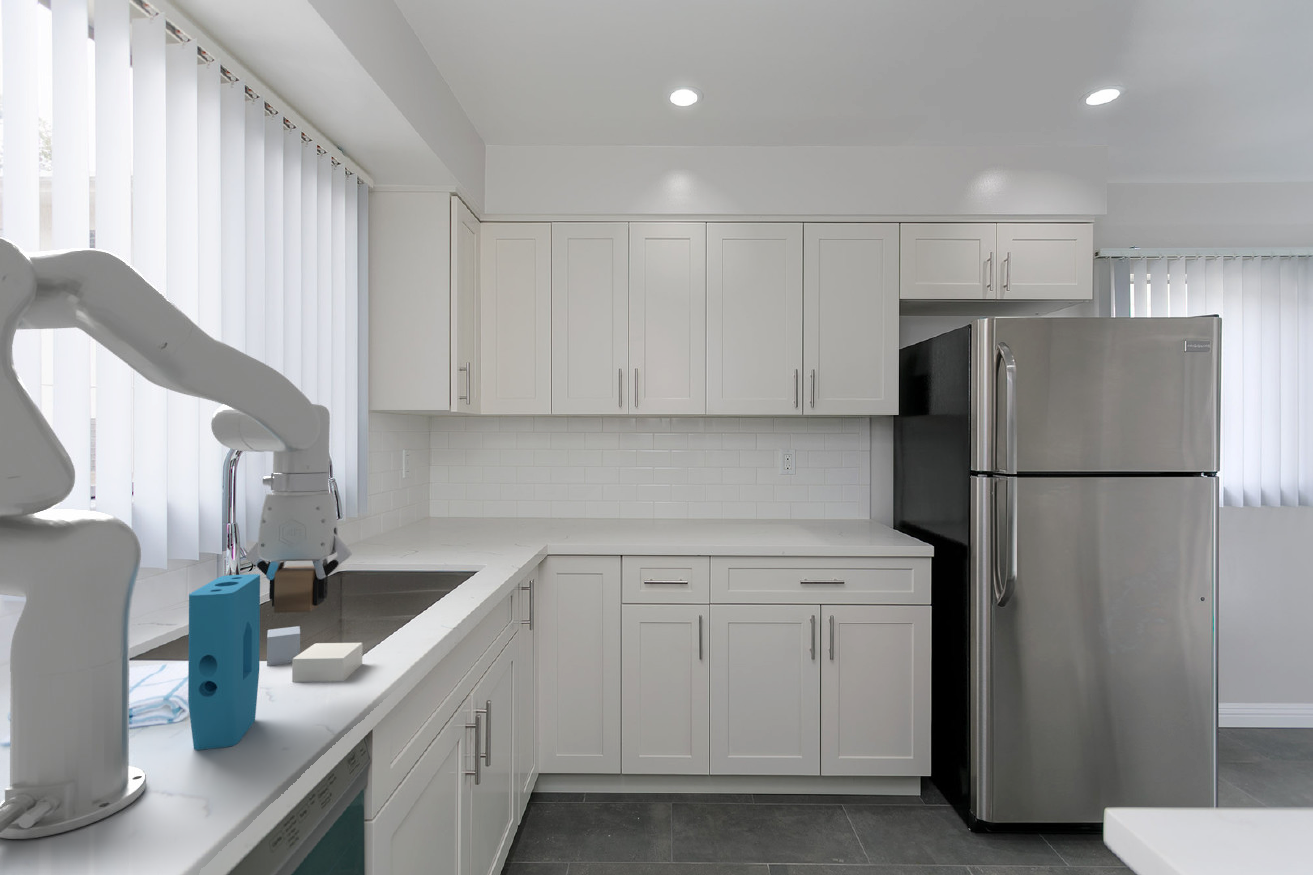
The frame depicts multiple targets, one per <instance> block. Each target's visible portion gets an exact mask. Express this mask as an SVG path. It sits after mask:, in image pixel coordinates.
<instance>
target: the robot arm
mask: <svg viewBox="0 0 1313 875" xmlns="http://www.w3.org/2000/svg"><path fill="white" fill-rule="evenodd" d="M71 328H77V329H79V330H81V331H83V332H84V333H86V335H88V336H89V337H91V338H92V339H94V340H95V341H96V342H97V343H98V344H100V345H101V346H103V347H104V348H106V349H107V350H108V351H109V352H111V353H112V354H114V356H116V357H117V358H119V359H120V360H121V361H122V362H124V363H126V364H127V365H128V366H129V367H130V368H132V369H133V370H134V371H135V372H137V374H139V375H140V376H142V377H143V378H144V379H146V380H147V381H149V382H150V383H152V384H154V385H156V386H159V387H162V388H164V389H167V390H170V391H173V392H176V393H180V394H183V395H187V396H191V397H193V398H195V397H196V398H199V399H200V398H201V399H203V400H207V401H212V402H215V403H218V404H221V406H220V407H219V408H217V409H216V411H215V412H214V414H213V416H212V418H211V423H210V426H211V432H212V434H213V436H214V437H215V439H216V440H217V441H218V443H219V444H221V445H223V446H224V447H226V448H228V449H231V450H233V451H239V452H253V453H254V452H256V453H257V452H260V453H264V452H270V453H271V452H273V453H272V454H273V455H272V456H273V458H272V459H273V460H272V463H273V464H272V472H271V475H269V476H264V477H263V478H262V485H263V486H266V487H267V486H268V487H270V490H271V491H272V493H266V494H265V496H264V501H263V505H262V508H261V509H262V510H261V515H260V521H259V528H258V529H259V530H258V538H257V542H256V543H255V544H254V545H253V547H251V549H250V550H249V551H248V552H247V553H246V555H245V559H246V560H247V561H249V562H250V563H251V564H252V565H254V566H256V567H257V569H258V570H260V571H261V572H262V574H264V575H265V578H266V579H267V580H269V591H268V592H269V593H268V594H269V596H268V597H269V600H270V601H271V606H272V607H273V608H274V587H275V572H276V571H278V570H281V569H283V568H285V567H286V566H285V565H286V562H305V561H308V562H311V561H312V564H313V565H312V566H314V568H315V572H316V579H314V580H313V605H314V606H318V605H319V604H321V603H322V604H323V603H324V601H325V599H327V596H328V585H329V584H328V583H329V582H328V578H329V576H330V574H332V572H334V571H335V570H336V569H337V568H338V567H339V566H340V565H341V564H343V563H344V562H345V561H347V560H348V559H349V558H351V557H352V554H353V553H352V551H351V550H350V549H349V548H348V547H347V546H346V544H345V543H344V542H343V541H342V540H341V538H340V537H339V534H338V533H339V532H338V518H337V517H338V516H337V510H336V504H335V502H336V501H335V498H334V494H333V492H329V485H330V484H329V481H330V480H329V478H330V476H329V470H330V469H329V468H330V429H331V427H330V426H331V425H330V423H331V422H330V420H331V417H330V415H331V414H330V411H329V409H328V408H327V407H326V406H324V405H321V404H316V403H313V402H311V400H310V399H309V398H308V397H307V396H306V395H305V394H304V393H303V392H302V391H301V390H300V389H299V388H298V387H297V386H296V385H295V384H293V382H291V380H289V379H288V378H287V377H286V376H284V375H283V374H282V373H281V372H279V371H277V370H276V369H275V368H273V367H272V366H270V365H268V364H266V363H264V362H261V361H260V360H259V359H256V358H254V357H253V356H251V355H248V354H246V353H244V352H242V351H240V350H238V349H236V348H235V347H232V346H231V345H228V344H226V343H225V342H221V341H220V340H218V339H215V338H213V337H212V336H210V335H209V334H208V333H206V331H204V330H202V329H201V328H200V327H199V325H197V324H196V323H195V322H194V321H192V320H191V319H190V318H189V317H188V316H187V315H186V314H185V313H184V312H183V311H182V310H180V308H178V307H177V306H176V305H175V304H174V303H173V302H172V301H170V300H169V299H168V298H167V297H166V295H164V294H163V293H162V292H160V290H158V288H156V287H155V286H154V284H152V283H151V282H149V281H148V279H146V278H145V277H144V276H143V275H142V274H141V272H139V271H138V270H137V269H135V267H133V266H132V265H131V264H130V263H129V262H128V261H126V260H124V259H123V258H122V257H120V256H118V255H117V254H114V253H112V252H110V251H106V250H104V249H103V250H102V249H96V248H70V249H69V248H68V249H59V250H49V251H39V252H38V251H36V252H25V251H24V250H23V249H22V248H20V247H19V245H17V244H15V243H14V242H13V241H11V240H9V239H7V238H5V237H2V236H0V595H3V596H11V597H20V598H25V603H24V607H23V610H22V611H21V614H20V617H19V618H18V621H17V623H16V626H15V627H14V631H13V635H12V640H11V644H10V646H11V647H10V657H9V662H10V663H9V668H10V669H9V670H10V697H9V699H10V707H9V708H10V710H9V711H10V713H9V714H10V716H9V717H10V718H9V720H10V724H9V725H10V726H9V727H10V730H9V732H10V733H9V734H10V735H9V737H10V738H9V742H10V743H9V745H10V746H9V747H10V748H9V786H8V787H6V788H5V789H4V799H3V800H2V801H1V802H0V838H2V839H8V840H28V839H34V838H36V839H37V838H43V837H48V836H52V835H53V836H54V835H57V834H60V833H65V832H68V831H72V830H75V829H78V828H81V827H85V826H88V825H91V824H93V823H96V822H98V821H101V820H103V819H105V818H107V817H108V816H109V817H110V816H111V815H113V814H115V813H117V812H119V811H120V810H123V809H124V808H125V807H127V806H128V805H131V803H133V802H134V801H136V799H138V798H139V797H140V796H141V795H142V793H143V792H144V791H145V789H146V786H147V774H146V773H145V771H144V770H142V769H140V768H138V767H136V766H135V767H134V766H132V765H129V764H130V763H129V762H130V761H129V760H130V759H129V757H130V756H129V755H130V749H129V748H130V627H131V626H130V624H131V622H130V621H131V610H132V602H133V596H134V591H135V587H136V583H137V579H138V575H139V571H140V567H141V561H142V552H141V550H142V548H141V544H140V540H139V539H138V535H137V534H136V533H135V531H134V530H133V529H132V528H131V527H130V526H129V524H127V523H126V522H124V521H122V520H121V519H119V518H117V517H115V516H114V515H113V516H112V515H110V514H106V513H103V512H99V511H92V510H82V509H79V510H78V509H64V508H63V509H62V508H59V509H57V508H56V509H54V507H56V506H58V505H59V504H62V502H64V500H65V499H66V498H67V497H69V496H70V494H71V492H72V491H73V488H74V486H75V483H76V471H75V470H76V469H75V466H74V463H73V461H72V458H71V457H70V454H69V453H68V452H67V450H66V448H65V446H64V445H63V444H62V442H61V441H60V439H59V437H58V436H57V434H56V433H55V431H54V429H52V427H51V425H50V424H49V422H48V421H47V419H46V418H45V416H44V415H43V413H42V412H41V410H40V408H39V407H38V405H37V404H36V402H35V401H34V399H33V398H32V396H31V394H30V392H28V390H27V387H26V385H25V384H24V382H23V381H22V378H21V377H20V375H19V371H17V369H16V368H17V367H16V366H15V362H14V357H13V345H14V339H15V338H14V337H15V334H16V331H17V330H44V329H45V330H47V329H49V330H50V329H51V330H52V329H71ZM334 554H336V557H334V558H333V559H331V560H330V561H329V559H328V557H329V556H332V555H334ZM322 604H321V605H322ZM319 606H320V605H319ZM319 606H318V607H319Z"/></svg>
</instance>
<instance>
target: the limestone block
mask: <svg viewBox="0 0 1313 875" xmlns="http://www.w3.org/2000/svg"><path fill="white" fill-rule="evenodd" d="M291 663H292V665H291V667H292V672H291V674H292V676H291V678H292V679H291V682H293V683H303V682H307V683H308V682H310V683H311V682H313V683H315V682H317V683H319V682H344V681H345V680H346V679H347V678H348V677H350V676H351V675H352V674H353V673H354V672H355V671H356V670H358V668H360V667H361V666H362V665H363V642H321V643H320V642H317V643H314V644H312V645H310V646H309V647H307V648H306V649H304V651H302V652H300V654H299V655H297V656H296V657H294V658H293V659H292V662H291Z"/></svg>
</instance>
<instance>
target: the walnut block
mask: <svg viewBox="0 0 1313 875" xmlns="http://www.w3.org/2000/svg"><path fill="white" fill-rule="evenodd" d="M314 579H316V572H315V568H314V565H287V566H284V568H283V569H281V570H278V571H276V572H275V587H274V607H273V614H274V613H275V614H280V613H281V614H282V613H284V614H285V613H310V612H312V611H314V610H315V609H316V608H318V607H319V606H322V604H323V602H322V603H321V604H319V605H318V606H314V605H313V580H314Z"/></svg>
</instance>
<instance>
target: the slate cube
mask: <svg viewBox="0 0 1313 875" xmlns="http://www.w3.org/2000/svg"><path fill="white" fill-rule="evenodd" d="M266 638H267V641H266V642H267V643H266V666H267V667H269V666H270V667H271V666H276V665H277V666H278V665H283V664H291V663H292V659H293V658H294V657H296V656H297V655H299V654H300V653H301V627H300V625H299V626H291V627H290V626H289V627H288V626H287V627H281V628H280V627H279V628H273V629H268V630H267V637H266Z"/></svg>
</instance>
